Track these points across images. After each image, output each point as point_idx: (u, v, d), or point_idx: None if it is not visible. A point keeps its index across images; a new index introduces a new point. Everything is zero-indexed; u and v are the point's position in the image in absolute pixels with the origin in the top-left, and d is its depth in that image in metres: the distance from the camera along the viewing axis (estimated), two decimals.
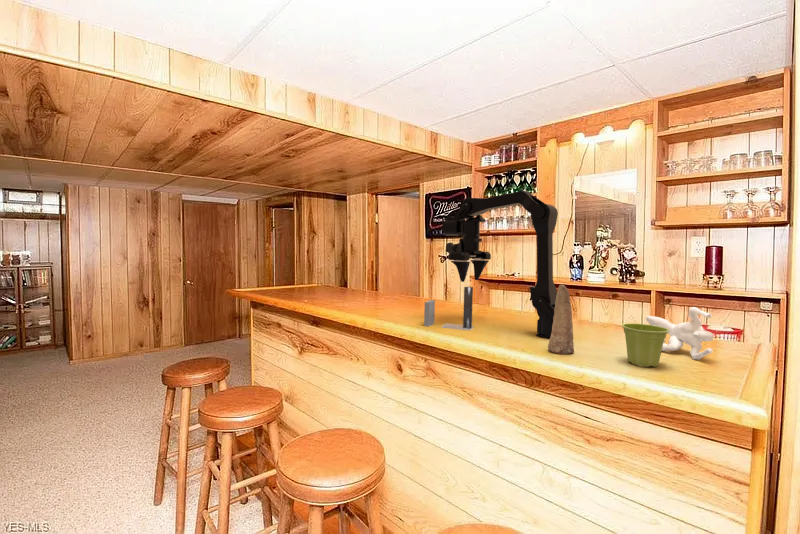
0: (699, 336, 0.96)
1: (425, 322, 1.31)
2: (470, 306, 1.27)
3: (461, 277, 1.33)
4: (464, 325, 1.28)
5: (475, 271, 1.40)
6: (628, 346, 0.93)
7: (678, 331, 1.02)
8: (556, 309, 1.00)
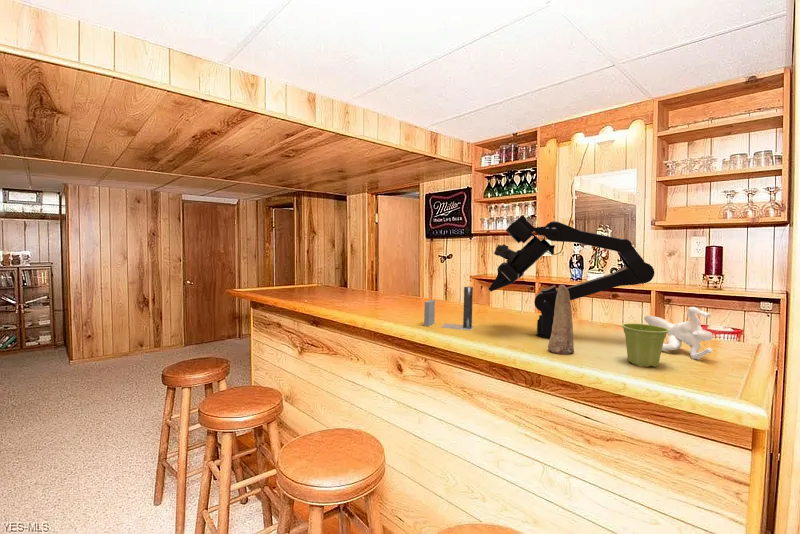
0: (699, 336, 0.96)
1: (425, 322, 1.31)
2: (470, 306, 1.27)
3: (492, 287, 1.20)
4: (464, 325, 1.28)
5: None
6: (628, 346, 0.93)
7: (677, 331, 1.03)
8: (556, 309, 1.00)
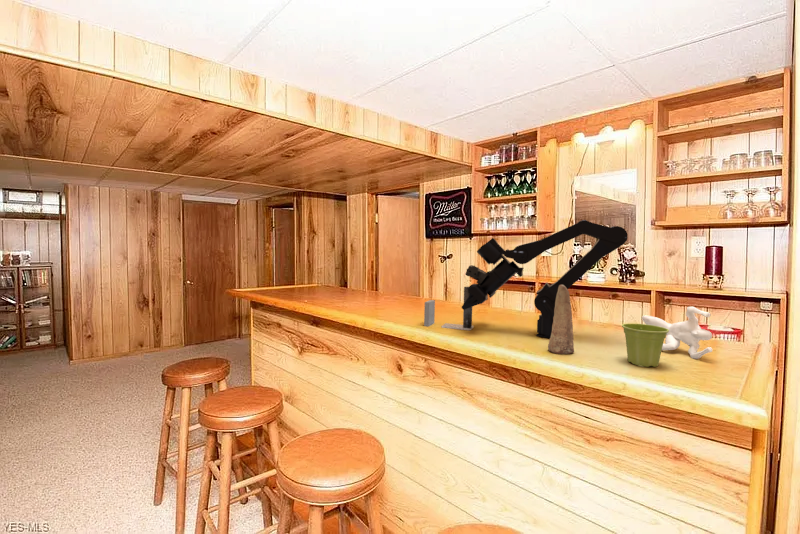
0: (698, 335, 0.97)
1: (425, 322, 1.31)
2: None
3: (465, 305, 1.26)
4: (464, 325, 1.28)
5: None
6: (628, 346, 0.93)
7: (675, 330, 1.03)
8: (556, 309, 1.00)
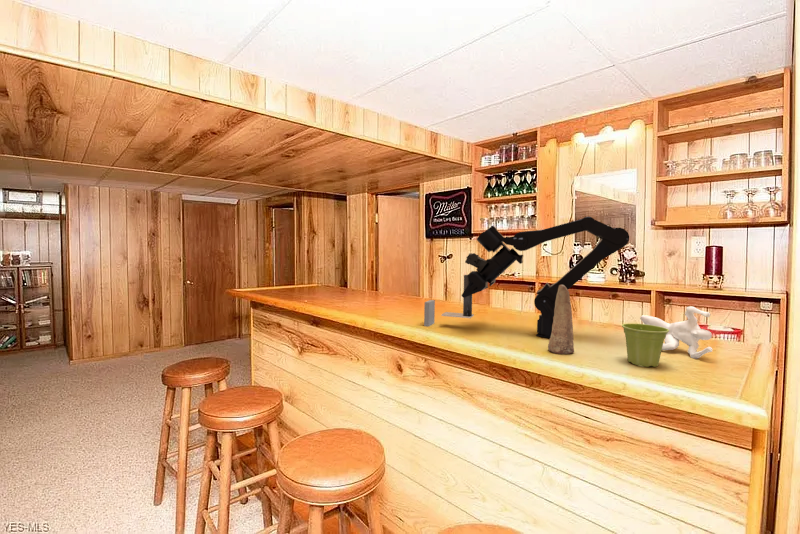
0: (698, 335, 0.97)
1: (425, 322, 1.31)
2: None
3: (465, 293, 1.26)
4: (464, 313, 1.28)
5: None
6: (628, 346, 0.93)
7: (675, 330, 1.04)
8: (556, 309, 1.00)
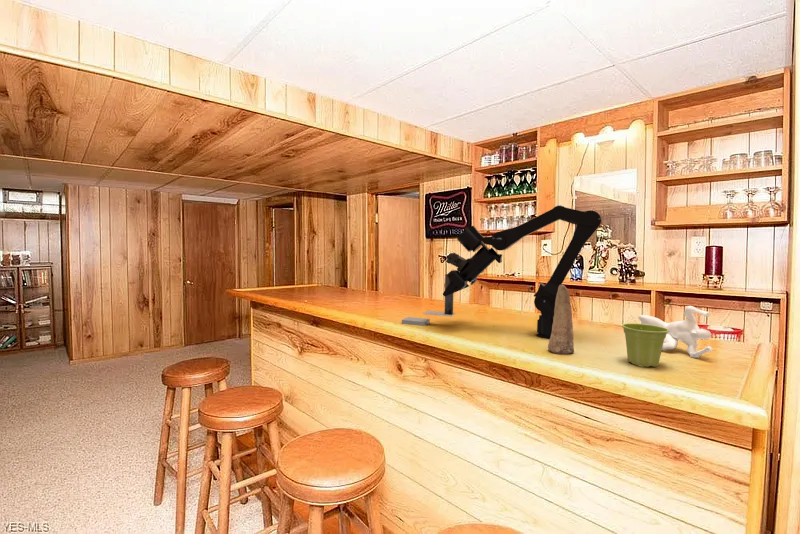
0: (698, 334, 0.97)
1: (420, 325, 1.32)
2: None
3: (445, 292, 1.29)
4: (445, 311, 1.30)
5: None
6: (628, 346, 0.93)
7: (673, 330, 1.04)
8: (556, 309, 1.00)
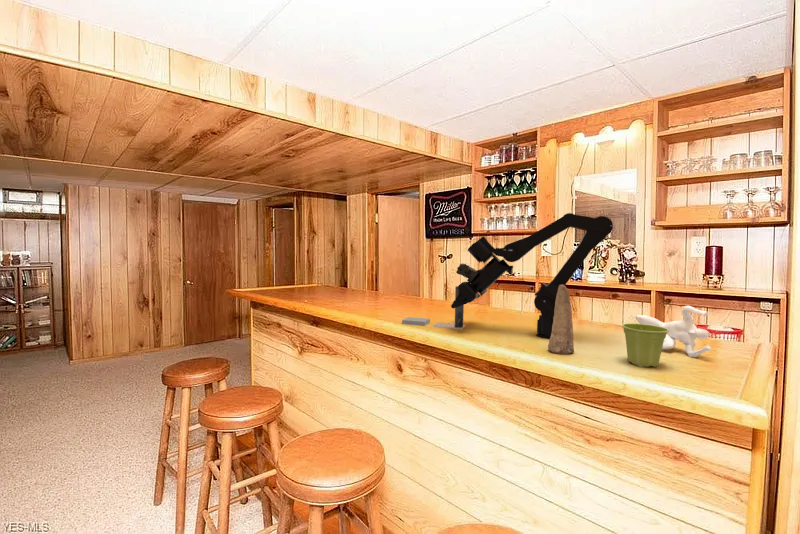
0: (696, 334, 0.98)
1: (421, 325, 1.32)
2: (461, 305, 1.28)
3: (454, 304, 1.26)
4: (455, 324, 1.29)
5: None
6: (628, 346, 0.93)
7: (671, 329, 1.04)
8: (556, 309, 1.00)
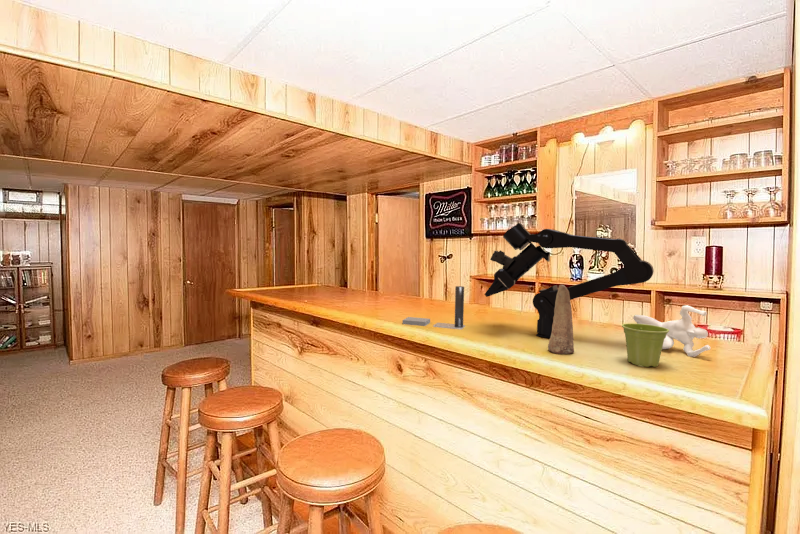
0: (696, 334, 0.98)
1: (421, 325, 1.32)
2: (461, 305, 1.28)
3: (488, 292, 1.21)
4: (455, 324, 1.29)
5: None
6: (628, 346, 0.93)
7: (670, 329, 1.05)
8: (556, 309, 1.00)
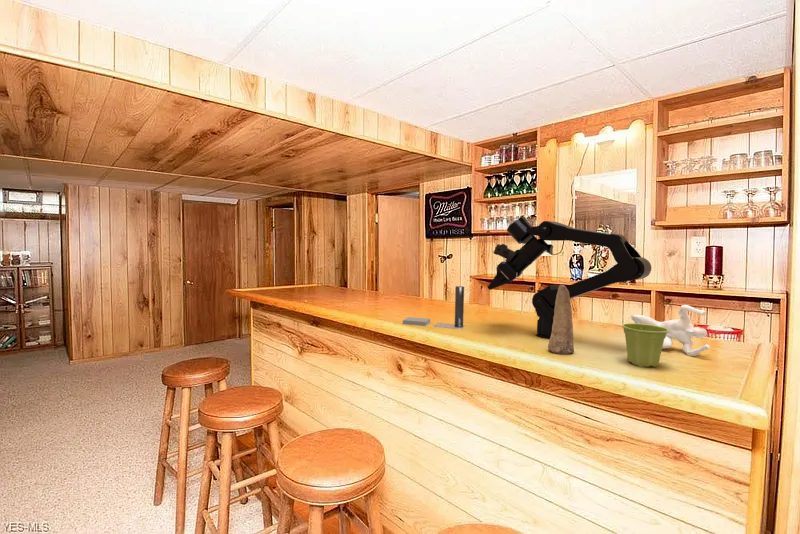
0: (695, 333, 0.99)
1: (422, 325, 1.32)
2: (461, 305, 1.28)
3: (491, 285, 1.22)
4: (455, 324, 1.29)
5: None
6: (628, 346, 0.93)
7: (668, 329, 1.05)
8: (556, 309, 1.00)
